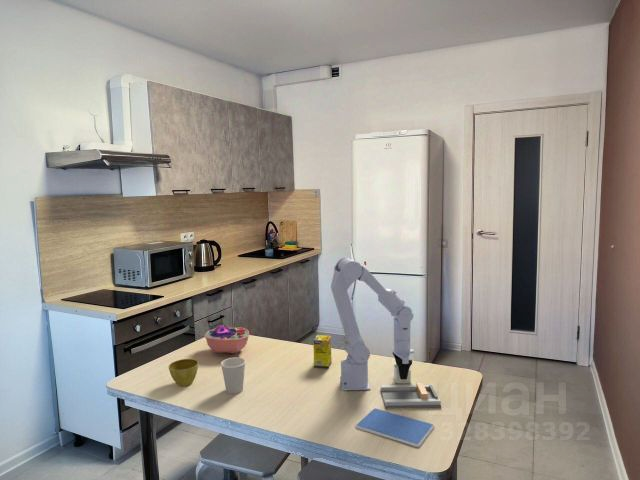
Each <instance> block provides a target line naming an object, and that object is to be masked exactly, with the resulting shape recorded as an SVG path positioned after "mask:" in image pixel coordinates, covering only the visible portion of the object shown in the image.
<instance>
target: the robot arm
mask: <svg viewBox="0 0 640 480" xmlns="http://www.w3.org/2000/svg"><path fill="white" fill-rule="evenodd" d="M331 279H332V280H331V283H330V289H331V293H332V296H333V300H334V302H335V306H336V310H337V312H338V316H339V319H340V322H341V325H342V326H341V327H342V329H343V332H344V337H343V338H344V350H345V351H344V352H346V354H347V356H346V359H342V360H340V377H339V378H340V379H339V381H340V382H341V383H340V384H341V391H363V390H364V391H368V390H371V387H370V386H371V385H370V382H369V366H368V364H369V362H368V361H369V359H370V356H371V351H370V349H369V347H367V346H366V344H365V341H364V339H363V337H362V335H361V333H360V329H359V327H358V323H357V319H356V316H355V312H354V309H353V305H352V302H351V299H350V295H349V291H348V290H349V288H350V287H351V285H353V283H355V282H356V281H357V280H358V281H360V282H364V283H365V284H366V286H368V287H369V288H370V289H371V290H372V291H373V292H375V294H377V301H378V302H379V303H380V304H381V305H382V306H383V307H384V308H385V309H386V310H387V311H388V312H389V313H390V315H391V317H393V351H392V353H391V354H392V355H393V358H394V361H395V365H398V369H399V375H400V379H407V376H408V372H409V368H410V369H411V366H412V364H413V360H412V359H409V358H410V356H411V355H412V354H414V353H415V350H414V349H411V321H412V320H413V319H414V313H413V310H412V309H411V307H409V306H407V305H406V304H405V302H406V301H404V300H403V299H401V298H400V297H399V296H398V295H397V292H396V291H395V290H394V289H391V288H385V287H384V286H383V285H382V284H381V283H380V282H379V280H378V279H377V278H376V277H375V276H374V275H373V274H372V273H371V272H370V271H369V270H368V269H367V268H366V267H364V266H363V265H361V263H360V262H358V261H356V260H353V259H352V258H350V257H348V256H346V257H342V258H340V259H339V260H338V261H337V262H336V264H335V265H334V269H333V276H332V278H331Z"/></svg>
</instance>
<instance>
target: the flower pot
mask: <svg viewBox="0 0 640 480" xmlns="http://www.w3.org/2000/svg"><path fill="white" fill-rule="evenodd" d="M198 368H199V361H198V360H197V359H194V358H181V359H178V360H175V361H172V362H171V363H169V365H168V370H169V373H170V376H171V378H172V380H173V381H174V382H175V384H176V385H177V386H178V387H188V386H191V385H192V384H193V382H194V380H195V378H196V375H197V373H198V370H199V369H198Z"/></svg>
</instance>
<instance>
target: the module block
mask: <svg viewBox="0 0 640 480" xmlns="http://www.w3.org/2000/svg"><path fill="white" fill-rule="evenodd" d="M411 373H412V371H411V367H410V368H409V372H408V376H407V379H400V375H399V369H398V365H396V364H393V377H394V381H395V383H398V384H399V383H400V384H402V383H403V384H406V383H407V384H408V383H411V382H412V381H411V378H412V375H411Z"/></svg>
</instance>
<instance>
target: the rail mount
mask: <svg viewBox="0 0 640 480" xmlns="http://www.w3.org/2000/svg"><path fill="white" fill-rule="evenodd" d="M423 385H424V387H425V389H426V391H427V393H428V399H420V397H419V395H418V392H417V390H416V384H382V385H380V392H381V396H382V400H383V405H384V407H385V409H423V408H427V409H428V408H430V409H431V408H433V409H434V408H442V402H441V401H442V400H441V399H440V398H439V396H438V395H437V392H436V390H435V389H434V386H433V384H432V383H431V384H423Z"/></svg>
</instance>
